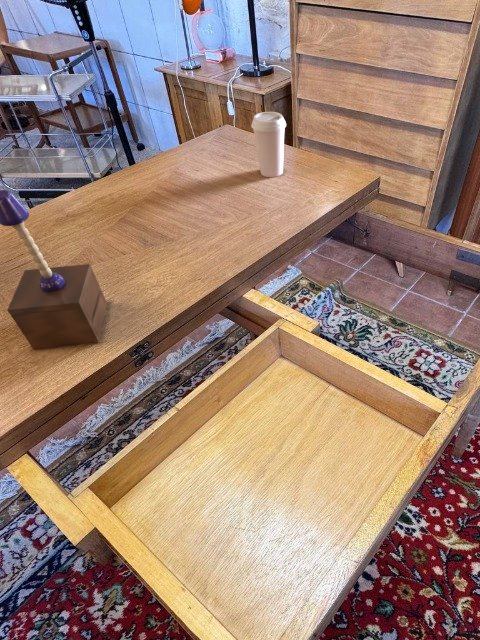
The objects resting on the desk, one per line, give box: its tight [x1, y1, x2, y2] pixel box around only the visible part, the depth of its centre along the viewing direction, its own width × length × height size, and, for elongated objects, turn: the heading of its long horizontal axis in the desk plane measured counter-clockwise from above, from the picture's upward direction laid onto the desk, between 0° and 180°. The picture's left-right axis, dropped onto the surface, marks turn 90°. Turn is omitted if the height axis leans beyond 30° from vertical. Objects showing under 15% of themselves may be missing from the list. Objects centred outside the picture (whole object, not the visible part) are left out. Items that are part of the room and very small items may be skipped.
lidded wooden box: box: [6, 263, 108, 350], centre depth 84 cm, size 12×12×10 cm
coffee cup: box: [251, 111, 287, 178], centre depth 125 cm, size 10×10×15 cm
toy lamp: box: [0, 189, 65, 291], centre depth 73 cm, size 5×5×17 cm
